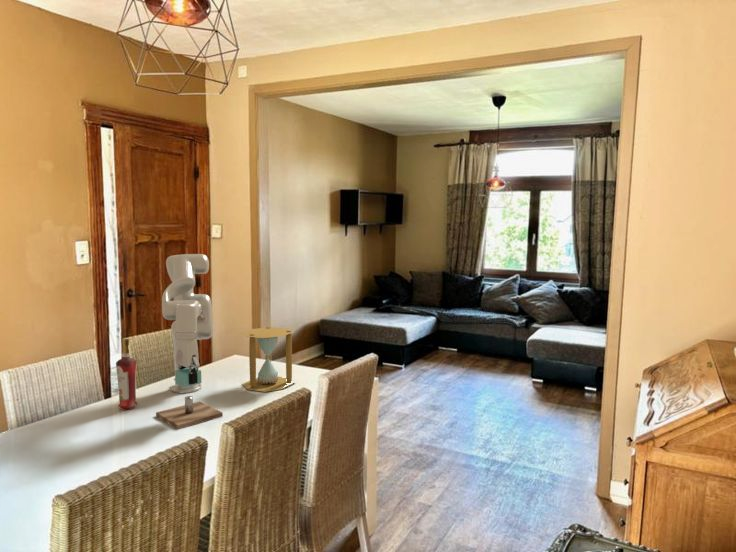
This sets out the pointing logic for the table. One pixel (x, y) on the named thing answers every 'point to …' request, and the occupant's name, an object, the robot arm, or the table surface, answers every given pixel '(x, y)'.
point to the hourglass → (268, 359)
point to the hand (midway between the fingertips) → (188, 381)
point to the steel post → (189, 404)
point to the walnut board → (188, 415)
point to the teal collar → (185, 377)
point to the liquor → (126, 378)
